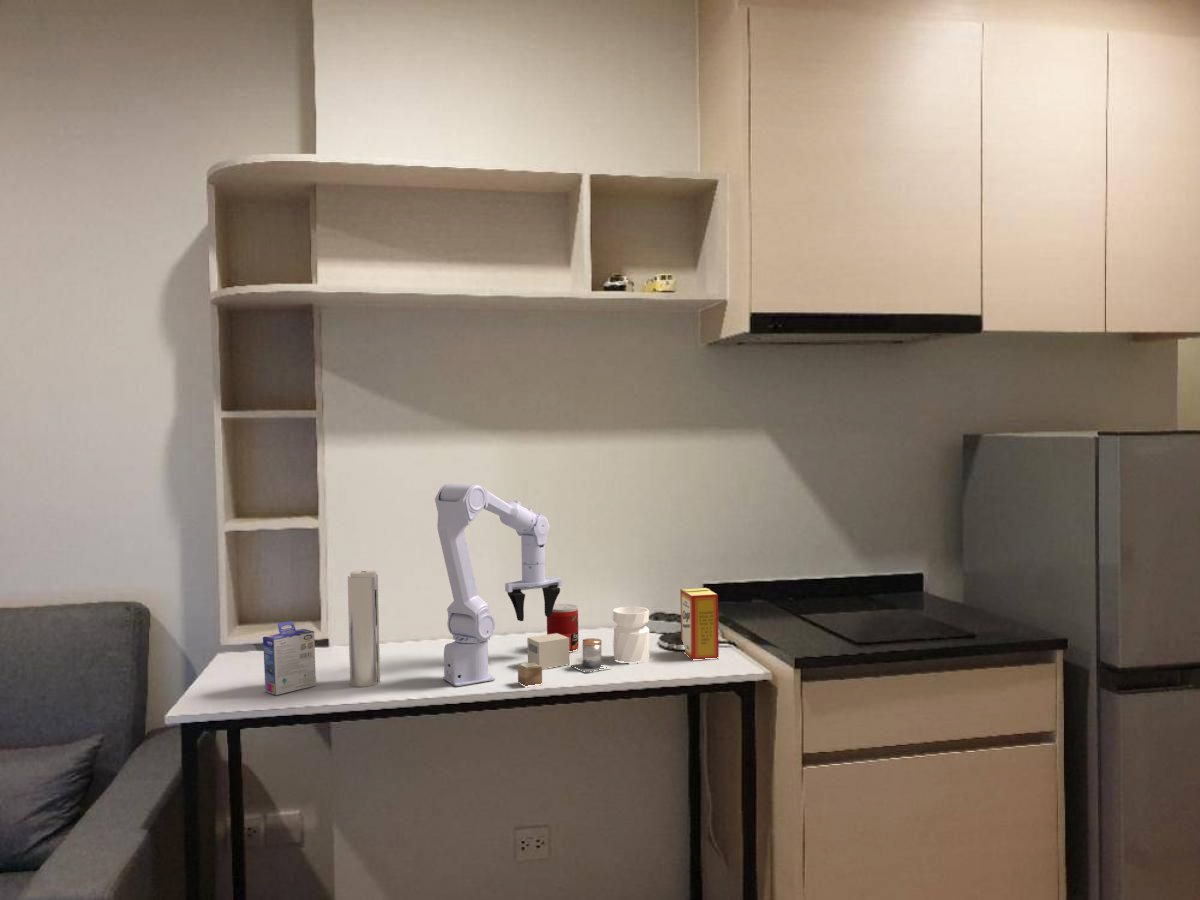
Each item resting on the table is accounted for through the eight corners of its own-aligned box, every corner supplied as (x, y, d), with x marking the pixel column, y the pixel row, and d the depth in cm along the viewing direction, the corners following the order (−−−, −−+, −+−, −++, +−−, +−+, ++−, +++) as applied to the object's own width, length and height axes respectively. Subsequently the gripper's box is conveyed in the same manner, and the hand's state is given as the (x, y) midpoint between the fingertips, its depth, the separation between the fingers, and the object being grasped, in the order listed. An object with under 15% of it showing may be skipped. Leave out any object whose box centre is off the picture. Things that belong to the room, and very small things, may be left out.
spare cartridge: (591, 669, 205) (592, 643, 205) (578, 665, 208) (578, 640, 208) (605, 666, 208) (605, 640, 208) (591, 662, 211) (591, 637, 211)
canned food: (578, 653, 222) (577, 609, 222) (546, 653, 222) (545, 610, 222) (578, 646, 230) (578, 603, 230) (547, 646, 230) (547, 604, 230)
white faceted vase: (631, 666, 209) (630, 615, 209) (606, 659, 216) (605, 610, 215) (657, 659, 215) (656, 610, 215) (632, 653, 222) (631, 605, 221)
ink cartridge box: (304, 681, 201) (303, 617, 200) (317, 686, 197) (316, 620, 197) (262, 691, 193) (261, 625, 193) (275, 696, 190) (274, 628, 189)
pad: (586, 673, 203) (585, 671, 203) (570, 666, 209) (570, 665, 209) (611, 668, 207) (611, 667, 207) (596, 662, 213) (596, 660, 213)
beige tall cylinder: (368, 677, 203) (366, 568, 203) (386, 682, 199) (383, 570, 199) (344, 683, 198) (341, 571, 198) (361, 688, 194) (359, 574, 194)
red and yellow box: (718, 659, 215) (717, 592, 214) (692, 660, 213) (691, 594, 213) (706, 649, 224) (705, 586, 224) (681, 651, 223) (680, 587, 222)
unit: (538, 670, 207) (538, 642, 207) (527, 664, 212) (526, 637, 212) (570, 665, 211) (570, 637, 211) (558, 659, 216) (558, 633, 216)
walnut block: (525, 688, 193) (525, 668, 193) (518, 683, 197) (517, 664, 197) (542, 685, 195) (541, 665, 195) (534, 680, 199) (534, 661, 198)
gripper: (551, 558, 224) (552, 612, 224) (499, 563, 217) (500, 619, 217) (565, 561, 218) (566, 616, 218) (512, 567, 211) (513, 624, 211)
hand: (534, 618), depth 217 cm, fingers open, 7 cm apart
